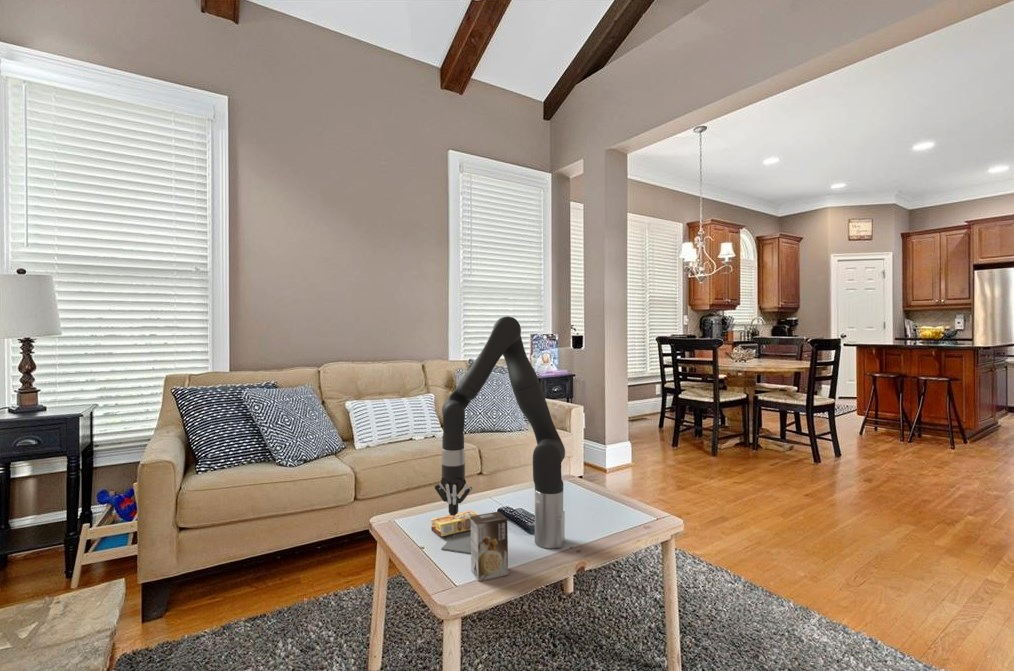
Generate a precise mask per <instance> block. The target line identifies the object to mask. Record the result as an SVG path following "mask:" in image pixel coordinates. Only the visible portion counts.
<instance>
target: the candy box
mask: <svg viewBox="0 0 1014 671" xmlns="http://www.w3.org/2000/svg"><path fill="white" fill-rule="evenodd" d="M475 515H480V514H479V513H477V512H475V511H473V510H471V509H470V510H466V511H461V512H458V513H457V514H456V515H455V516H451V515H450V514H447V515H443V516H438V517H433V518H431V519H430V524H431V527H430V528H431V531H432V532H434V533H435V534H436V535H439V537H446V536H449V535H455V534H456V533H459V532H463V531H471V517H470V516H475Z"/></svg>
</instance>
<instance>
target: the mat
mask: <svg viewBox="0 0 1014 671" xmlns="http://www.w3.org/2000/svg"><path fill="white" fill-rule="evenodd" d="M440 550H441V551H446V552H452V553H453V552H454V553H461V554H467V555H471V530H467V531H463V532H459V533H454V534H453V536H451V538H449V540H448V541H447V542H446V543H445V544H444V545H443V546H442V547H441V549H440Z"/></svg>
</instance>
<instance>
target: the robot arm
mask: <svg viewBox="0 0 1014 671" xmlns="http://www.w3.org/2000/svg"><path fill="white" fill-rule="evenodd" d="M521 333H522V328H521V324H520V323H519V321H518V320H517V319H516V318H515V317H512V316H509V315H506V316H502V317H500V318H498V319H497V320H496V322H495V323H494V324H493V327H492V331H491V333H490V335H489V337H488V339H487V341H486V343H485V345H484V346H483V349H481V352H480V353H479V354H478V356H477V358H475V360H474V361H473V363H472V364H471V365H470V367H469V368H468V370H467V371H466V372H465V374H464V375H463V377H462V378H461V380H460V382H459V383H458V385H457V387H456V388H455V389H454V391H452V393H451V394H450V395H449V396H448V398H447V399H446V400H445V402H444V403H443V405H442V408H441V413H442V421H443V422H442V423H443V424H442V426H443V432H442V440H441V442H442V445H441V446H442V451H441V460H440V461H441V479H440V482H439V483H437V484H435V486H434V489H435V491H436V492H437V494H438V495H439V497H440V499H441V500H442V501H443V502H444V503H445V502H446V503H447V504H448V513H449V515H451V516H455V515H456V514H457V513H459V504H461V503H463V501H465V499H466V498H467V497H468V495H469V494H470V493H471V492H472V491H473V487H472V486H469V485H467V481H466V478H465V477H466V453H465V452H466V451H465V433H464V431H465V422H466V421H465V420H466V414H465V413H466V412H465V410H466V409H467V407H468V406H469V404H470V403H471V401H472V400H473V401H474V399H475V398H476V397H477V396H478V395H479V394H480V391H481V390H482V389H483V387H484V386H485V385H486V384H485V383H486V382H487V381H488V379H489V377H490V376H491V374H492V372H493V371H494V368H495V367H496V365H497V363H498V361H499V360H500V359H501V358H502V356H503V359H504V361H505V364H506V368H507V373H508V377H509V381H510V385H511V389H512V391H513V395H514V398H515V400H516V403H517V405H518V408H519V409H520V412H522V414H523V416H524V417H525V418H526V420H527V421H528V422H529V424H530V426H531V428H532V431H533V434H534V437H535V440H536V444H537V445H535V448H534V450H533V452H532V478H533V480H532V481H533V483H534V543H535V545H537V546H538V547H540V548H543V549H557V548H558V549H562V547H563V544H564V542H565V540H566V539H565V538H566V537H565V532H566V531H565V529H566V528H565V523H566V522H565V521H566V520H565V519H566V516H565V511H564V481H563V480H562V462H563V461H564V460H565V456H566V448H565V445H564V443H563V441H562V439H561V437H560V434H559V432H558V431H557V428H556V426H555V423H554V421H553V419H552V416H551V412H550V409H549V406H548V403H547V399H546V396H545V394H544V391H543V388H542V385H541V383H540V380H539V377H538V375H537V373H536V371H535V369H534V367H533V365H532V363H531V361H530V360H529V358H528V356H527V353H526V350H525V346H524V343H523V339H522V335H521ZM462 490H463V491H462ZM461 492H463V493H462V495H461V496H460V494H461Z"/></svg>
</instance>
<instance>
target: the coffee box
mask: <svg viewBox="0 0 1014 671" xmlns="http://www.w3.org/2000/svg"><path fill="white" fill-rule="evenodd" d="M470 517H471V530H470V532H471V554H470V572H471V573H472V575H473V576H474V577H475V579H476V580H477V581H478V582H483V581H486V580H487V579H488V580H491V579H495V578H500V577H504V576H508V575H509V550H508V549H509V541H508V540H509V539H508V535H509V534H508V518H507V517H506V516H505V515H504V514H503V513H501V512H500V511H492V512H488V513H482V514H479V515H475V516H470ZM482 580H483V581H482Z"/></svg>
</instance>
